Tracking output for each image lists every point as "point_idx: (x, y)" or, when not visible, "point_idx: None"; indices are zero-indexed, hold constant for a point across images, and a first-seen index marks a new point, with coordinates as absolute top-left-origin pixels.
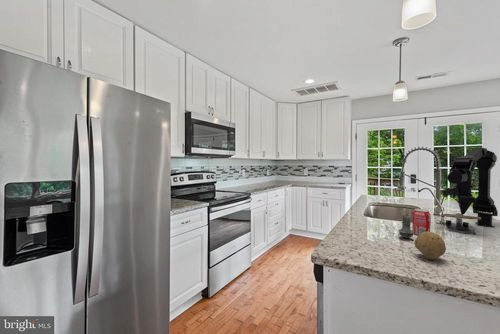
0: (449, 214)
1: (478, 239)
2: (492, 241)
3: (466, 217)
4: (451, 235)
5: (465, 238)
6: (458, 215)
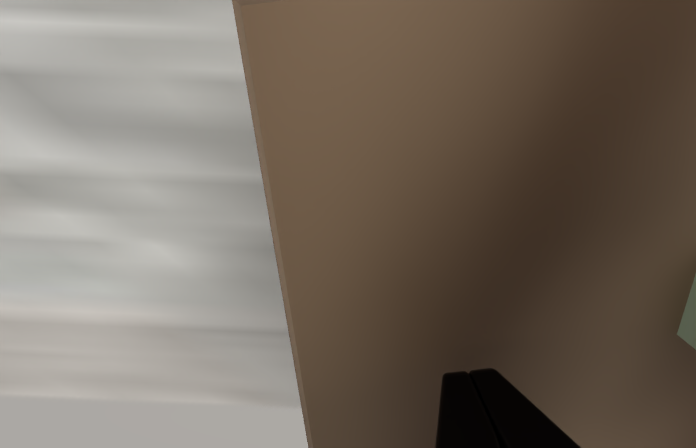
0: (247, 72)
1: (155, 296)
2: (185, 387)
3: (301, 404)
4: (71, 14)
5: (62, 181)
6: (285, 298)
